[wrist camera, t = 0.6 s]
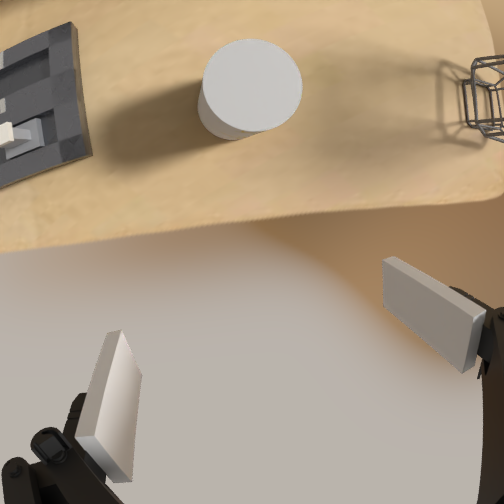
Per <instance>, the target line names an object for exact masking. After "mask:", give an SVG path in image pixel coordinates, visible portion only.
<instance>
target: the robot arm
mask: <svg viewBox="0 0 504 504" xmlns="http://www.w3.org/2000/svg"><path fill="white" fill-rule="evenodd" d="M382 266H383V267H382V268H383V306H384V307H385V308H386V309H387V310H388V311H390V312H391V313H392V314H393V315H394V316H396V317H397V318H398V319H399V320H400V321H401V322H403V323H404V324H405V325H406V326H408V327H409V328H410V329H411V330H412V331H414V332H415V333H416V334H417V335H418V336H419V337H420V338H422V339H423V340H424V341H425V342H427V344H429V345H430V346H431V347H432V348H433V349H434V350H436V351H437V352H438V353H439V354H440V355H441V356H442V357H444V358H445V359H446V360H447V361H448V362H449V363H451V364H452V365H453V366H454V367H455V368H456V369H457V370H458V371H460V372H461V373H464V372H465V371H467V370H468V369H470V368H472V367H473V366H474V365H475V361H476V357H477V354H478V355H479V356H480V357H481V358H482V362H481V366H480V369H479V373H478V377H477V379H479V378H480V375H481V374H482V388H483V389H482V391H483V448H482V465H481V466H482V467H481V476H480V486H479V494H478V501H477V504H504V307H500V308H497V309H495V310H494V309H493V308H491V307H489V306H488V305H486V304H485V303H483V302H481V301H480V300H478V299H476V298H475V299H474V297H473V296H471V295H468V293H466V292H464V291H463V290H461V289H458V288H455V287H451V286H450V287H447V286H446V285H444V284H442V283H441V282H439V281H437V280H436V279H434V278H432V277H430V276H429V275H427V274H425V273H423V272H422V271H420V270H418V269H416V268H415V267H413V266H411V265H409V264H408V263H405V262H404V261H402V260H400V259H399V258H397V257H395V256H393V257H389V258H386V259H383V260H382ZM141 379H142V374H141V372H140V369H139V367H138V365H137V363H136V361H135V359H134V357H133V354H132V352H131V350H130V348H129V346H128V343H127V341H126V339H125V337H124V334H123V332H122V330H118V331H114V332H109V333H107V335H106V338H105V341H104V343H103V347H102V349H101V352H100V355H99V358H98V361H97V364H96V367H95V370H94V373H93V376H92V379H91V382H90V385H89V389H88V392H87V393H80V394H79V395H78V396H77V397H76V398H75V400H74V401H73V402H72V405H71V408H70V413H69V414H68V417H67V419H68V420H67V421H66V424H65V427H64V430H63V433H61V432H60V431H59V430H58V429H57V428H54V427H48V428H44V429H42V430H40V431H39V432H38V433H36V434H35V436H34V437H33V439H32V441H31V450H32V451H33V452H34V454H35V455H36V456H37V457H38V458H39V459H40V460H41V462H37V463H35V464H31V465H29V464H28V463H27V461H26V460H24V459H23V458H21V457H15V458H12V459H10V460H9V461H7V463H6V464H5V465H4V467H3V469H2V485H3V494H4V501H5V504H124V503H123V502H122V501H121V500H120V499H119V498H118V497H117V496H116V495H115V494H114V492H113V491H112V490H111V489H110V488H109V487H108V486H107V485H106V484H105V481H106V475H107V476H108V477H109V478H110V479H111V480H112V482H113V483H123V482H132V476H133V460H134V446H135V434H136V422H137V413H138V404H139V395H140V387H141Z"/></svg>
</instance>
